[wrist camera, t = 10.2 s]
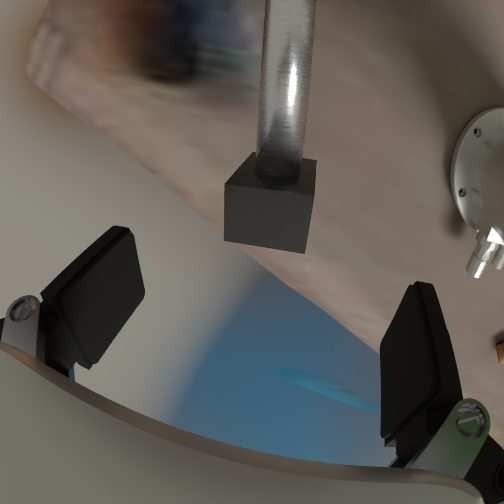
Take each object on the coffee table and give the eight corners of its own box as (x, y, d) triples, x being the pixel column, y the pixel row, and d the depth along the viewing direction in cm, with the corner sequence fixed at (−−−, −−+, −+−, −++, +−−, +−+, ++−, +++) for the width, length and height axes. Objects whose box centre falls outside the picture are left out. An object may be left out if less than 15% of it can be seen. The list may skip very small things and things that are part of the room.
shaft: (310, 203, 19) (304, 253, 14) (250, 195, 20) (224, 240, 15) (332, -82, 8) (333, -130, 3) (267, -86, 8) (245, -132, 3)
